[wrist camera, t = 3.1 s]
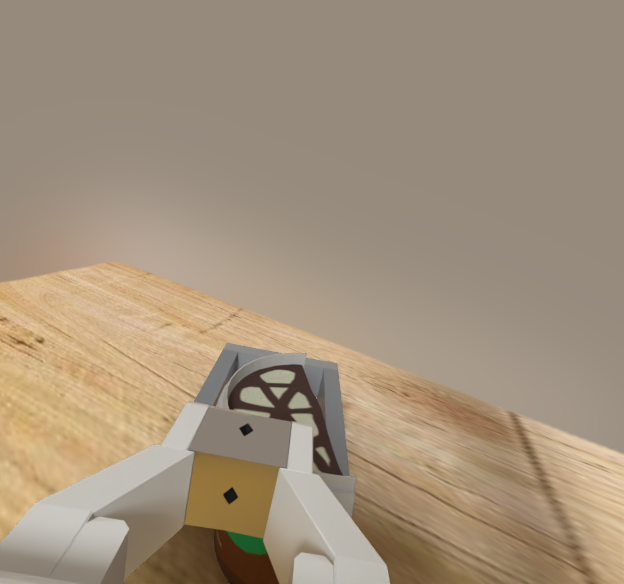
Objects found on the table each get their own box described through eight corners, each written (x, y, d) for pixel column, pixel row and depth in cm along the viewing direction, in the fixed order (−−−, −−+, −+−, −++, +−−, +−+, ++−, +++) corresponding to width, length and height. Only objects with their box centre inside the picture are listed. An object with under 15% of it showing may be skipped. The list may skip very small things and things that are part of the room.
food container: (201, 462, 28) (217, 342, 25) (281, 462, 30) (305, 349, 27) (182, 666, 17) (208, 489, 14) (314, 649, 18) (361, 487, 15)
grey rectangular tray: (330, 391, 41) (337, 363, 40) (339, 543, 24) (352, 501, 23) (222, 371, 41) (226, 343, 40) (152, 512, 23) (156, 467, 22)
